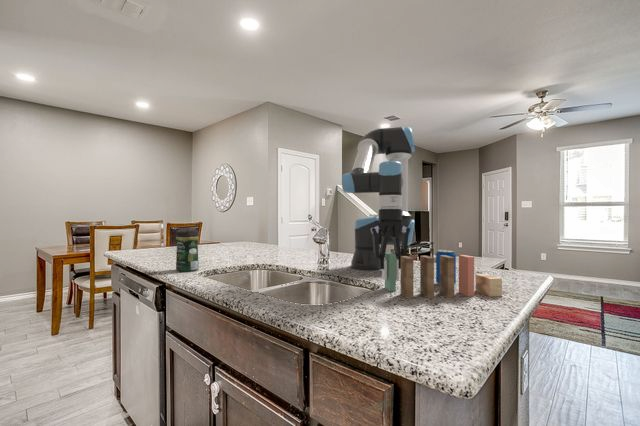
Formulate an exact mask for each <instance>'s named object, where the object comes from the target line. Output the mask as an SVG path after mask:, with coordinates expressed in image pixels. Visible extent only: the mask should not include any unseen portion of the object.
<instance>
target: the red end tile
mask: <svg viewBox="0 0 640 426" xmlns="http://www.w3.org/2000/svg"><path fill="white" fill-rule="evenodd" d="M458 293H460V294H461V295H463V296H466V297H474V296H475V256H471V255H467V254H458Z"/></svg>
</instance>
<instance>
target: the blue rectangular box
mask: <svg viewBox="0 0 640 426" xmlns="http://www.w3.org/2000/svg"><path fill="white" fill-rule="evenodd" d="M440 255H447V256H450V257H454V285H456V282H457V281H456V280H457V276H456V275H457V273H456V271H457V268H456V267H457V258H456V257H457V256H456V253H455V250H453V249H452V250H451V249H438V250H437V252H436V253H435V282H436V284H437V285H439V286H440Z"/></svg>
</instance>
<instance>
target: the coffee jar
mask: <svg viewBox="0 0 640 426" xmlns="http://www.w3.org/2000/svg"><path fill="white" fill-rule="evenodd" d="M175 241H176V255H175V257H176V258H175V270H176V271H178V270H179V271H180V272H183V271H184V272H185V271H187V272H190V271H192V272H195V271H198V270H199V268H200V266H199V265H200V264H199V245H198V244H199V243H198V242H199V231H198V230H197V229H195V228H189V227H187V228H179V229H177V230H176V234H175ZM184 272H183V273H184ZM185 273H186V272H185Z"/></svg>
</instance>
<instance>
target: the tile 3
mask: <svg viewBox="0 0 640 426" xmlns="http://www.w3.org/2000/svg"><path fill="white" fill-rule="evenodd" d="M419 256H420V257H419V258H420V259H419V265H420V266H419V268H420V269H419V271H420V272H419V273H420V275H419V276H420V277H419V280H420V281H419V283H420V284H419V286H420V287H419V288H420V291H419V292H420V293H419V294H420V295H422V296H423V297H426V298H427V299H434V298H435V258H434V257H433V256H430V255H419Z"/></svg>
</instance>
